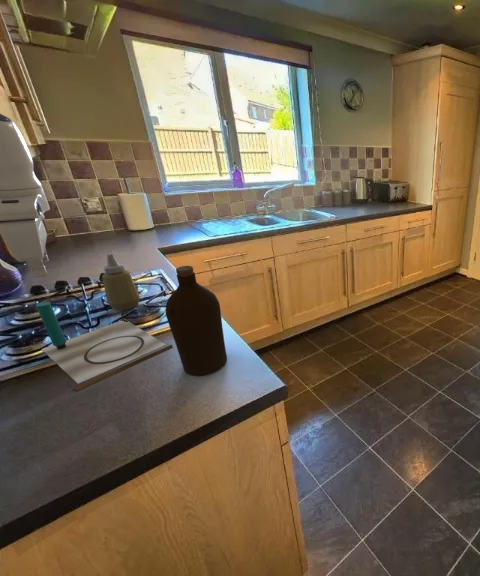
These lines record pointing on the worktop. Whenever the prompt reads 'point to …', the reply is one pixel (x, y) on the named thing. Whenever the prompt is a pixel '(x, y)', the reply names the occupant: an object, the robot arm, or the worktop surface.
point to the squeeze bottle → (119, 286)
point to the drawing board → (104, 352)
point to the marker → (51, 324)
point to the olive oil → (196, 325)
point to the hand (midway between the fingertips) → (42, 269)
